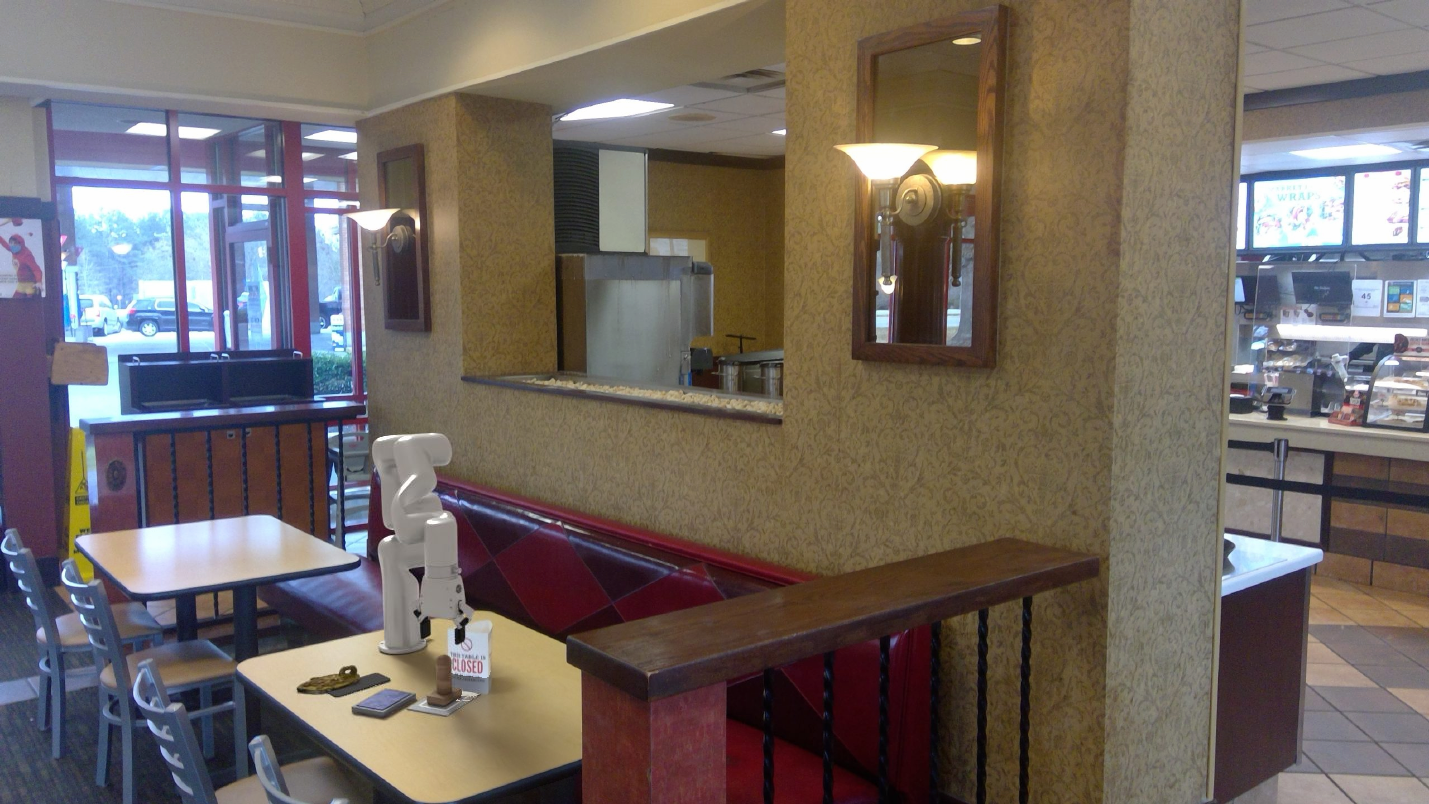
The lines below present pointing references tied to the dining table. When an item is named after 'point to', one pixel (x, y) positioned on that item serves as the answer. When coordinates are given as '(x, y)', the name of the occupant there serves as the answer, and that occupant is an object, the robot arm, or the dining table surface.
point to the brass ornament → (330, 681)
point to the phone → (360, 684)
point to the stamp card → (431, 709)
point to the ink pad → (383, 703)
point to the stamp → (444, 684)
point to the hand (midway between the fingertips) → (442, 640)
